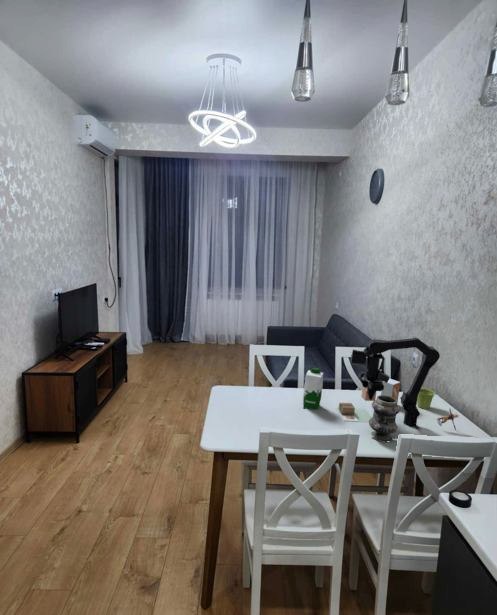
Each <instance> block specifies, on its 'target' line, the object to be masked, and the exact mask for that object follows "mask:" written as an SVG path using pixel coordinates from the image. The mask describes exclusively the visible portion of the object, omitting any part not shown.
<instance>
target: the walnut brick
mask: <svg viewBox="0 0 497 615" xmlns="http://www.w3.org/2000/svg"><path fill="white" fill-rule="evenodd" d="M338 408H339V411H340V413H341V414H342V415H350V416H354V412H355V408H356V407H355V406H354V405H353V403H352V402H339V404H338Z"/></svg>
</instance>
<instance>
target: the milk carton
mask: <svg viewBox="0 0 497 615" xmlns="http://www.w3.org/2000/svg"><path fill="white" fill-rule="evenodd" d="M323 382H324V372H321V370H320V367H311V370H307V372H306V374H305V379H304V388H303V397H302V398H303V400H302V401H303V403H302V404H303V407H302V408H303V409H304V410H306V409H309V410H310V409H311V410H318V409H319V407H320V405H321V404H320V403H321V400H322V393H323V385H324V383H323Z"/></svg>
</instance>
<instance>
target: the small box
mask: <svg viewBox="0 0 497 615" xmlns="http://www.w3.org/2000/svg"><path fill="white" fill-rule="evenodd" d="M382 384H383V385H384V390H380V392H381V394H380V395H386V396H390V397H393V398H395V399H396V400H397V404H398V402H399V393H400V387H401V381H398V380H395V379H392V378H389V380H388V382H387V383H385V382H384V381H382Z"/></svg>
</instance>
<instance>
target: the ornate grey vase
mask: <svg viewBox="0 0 497 615" xmlns="http://www.w3.org/2000/svg"><path fill="white" fill-rule="evenodd" d="M371 408H372V409H373V414H372V418H371V419H370V420H369V422H368V425H369V427H370V428H371V430H373V431H372V432H371V433H370V434H371V436H372V437H371V438H372V439H373V440H374V441H377V442H378V441H379V442H381V441H382V442H381V443H388V442H387V441H391V440H392V441H393V439H392V438H393V436H392V435H391V434H394V433H396V432H397V431H398V425H397V423H396V418H397V415H398V414H399V413H400V412H401V408H400V405H399V404H398V403H397V400H396V399H395V398H393V397H390V396H386V395H381V394H380V395H376V399H375V401H372V403H371ZM392 441H391V442H392Z"/></svg>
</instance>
